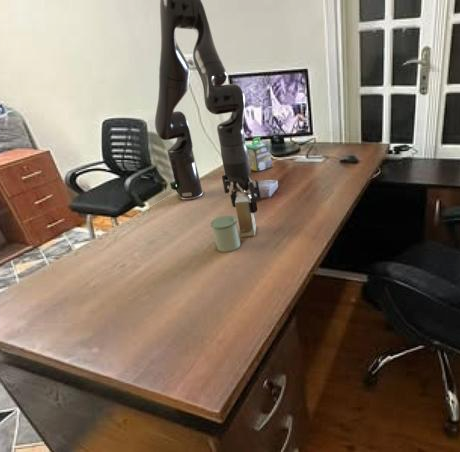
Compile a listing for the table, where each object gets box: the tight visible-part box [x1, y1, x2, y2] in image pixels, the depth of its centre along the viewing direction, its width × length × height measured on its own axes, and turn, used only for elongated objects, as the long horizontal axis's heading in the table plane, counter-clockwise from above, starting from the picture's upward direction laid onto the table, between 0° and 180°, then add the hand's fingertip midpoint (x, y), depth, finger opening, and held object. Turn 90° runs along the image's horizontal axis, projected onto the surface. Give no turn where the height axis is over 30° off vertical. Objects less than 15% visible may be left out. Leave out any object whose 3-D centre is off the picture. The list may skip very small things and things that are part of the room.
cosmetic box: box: [235, 193, 257, 238], centre depth 110 cm, size 6×4×12 cm
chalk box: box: [246, 136, 273, 173], centre depth 167 cm, size 9×9×15 cm
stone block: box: [248, 179, 279, 199], centre depth 142 cm, size 12×5×10 cm
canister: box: [210, 215, 241, 253], centre depth 104 cm, size 7×7×8 cm
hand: (244, 209), depth 109 cm, fingers open, 8 cm apart
